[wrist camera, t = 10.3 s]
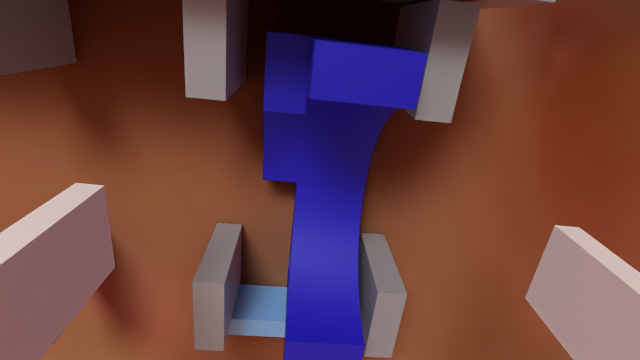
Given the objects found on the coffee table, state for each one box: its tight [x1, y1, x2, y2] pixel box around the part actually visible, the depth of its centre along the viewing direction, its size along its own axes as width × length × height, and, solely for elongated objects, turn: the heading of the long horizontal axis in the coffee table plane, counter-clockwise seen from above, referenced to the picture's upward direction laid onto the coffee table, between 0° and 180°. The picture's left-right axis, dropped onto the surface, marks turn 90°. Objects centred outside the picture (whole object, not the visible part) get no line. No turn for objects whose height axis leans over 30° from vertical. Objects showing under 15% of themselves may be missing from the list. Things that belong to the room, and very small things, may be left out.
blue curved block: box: [263, 30, 428, 360], centre depth 14 cm, size 12×4×6 cm, turn 174°
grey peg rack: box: [0, 0, 556, 358], centre depth 14 cm, size 25×16×6 cm, turn 84°
